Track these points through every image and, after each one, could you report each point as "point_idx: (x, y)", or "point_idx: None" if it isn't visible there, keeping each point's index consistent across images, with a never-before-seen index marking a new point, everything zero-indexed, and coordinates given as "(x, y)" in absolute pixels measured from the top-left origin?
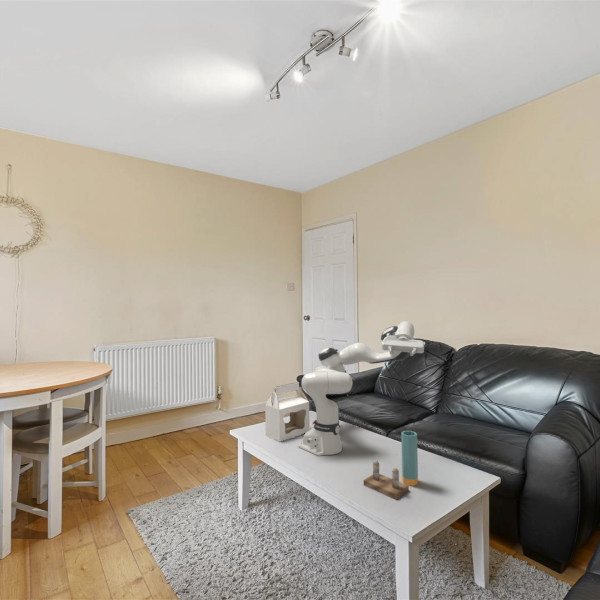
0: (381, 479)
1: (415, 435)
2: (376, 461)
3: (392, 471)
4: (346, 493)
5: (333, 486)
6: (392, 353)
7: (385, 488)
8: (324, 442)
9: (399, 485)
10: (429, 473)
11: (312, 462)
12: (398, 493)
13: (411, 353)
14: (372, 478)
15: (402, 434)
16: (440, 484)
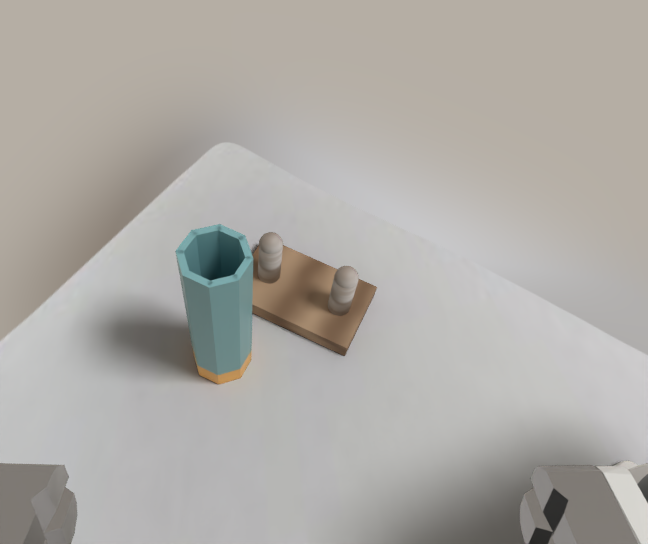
0: (320, 306)
1: (184, 239)
2: (345, 269)
3: (280, 237)
4: (408, 242)
5: (457, 265)
6: (531, 497)
7: (299, 258)
8: (637, 470)
9: (257, 285)
10: (139, 450)
11: (605, 397)
12: (258, 247)
13: (17, 467)
14: (351, 305)
15: (247, 242)
16: (109, 372)
